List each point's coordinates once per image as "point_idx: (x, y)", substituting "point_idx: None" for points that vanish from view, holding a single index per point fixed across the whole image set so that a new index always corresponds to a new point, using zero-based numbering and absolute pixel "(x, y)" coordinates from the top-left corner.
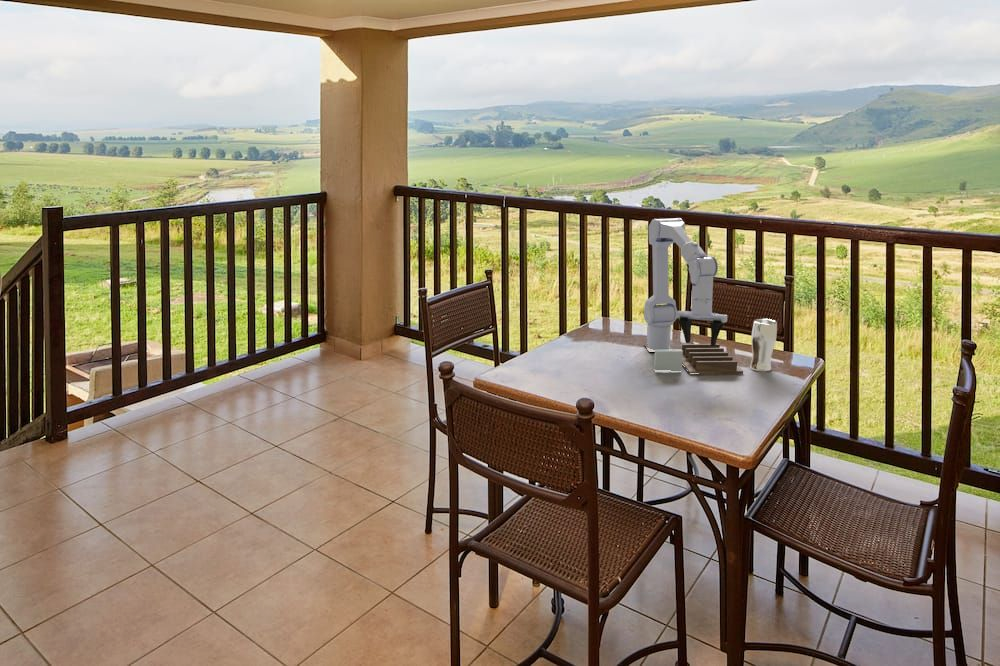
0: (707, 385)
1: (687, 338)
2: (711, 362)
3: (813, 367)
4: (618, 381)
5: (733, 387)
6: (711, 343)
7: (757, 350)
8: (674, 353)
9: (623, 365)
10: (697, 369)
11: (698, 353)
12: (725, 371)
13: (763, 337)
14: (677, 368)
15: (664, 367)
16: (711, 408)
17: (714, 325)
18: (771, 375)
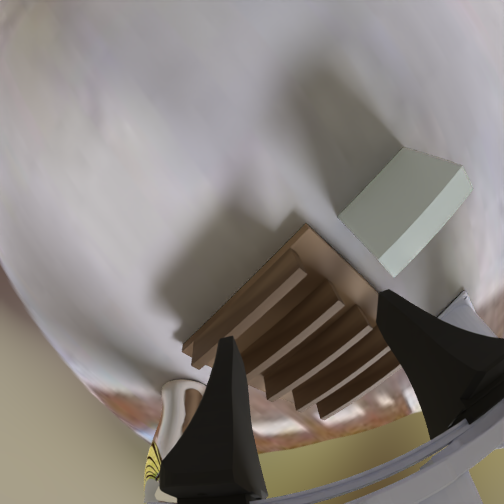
0: (185, 173)
1: (394, 309)
2: (253, 308)
3: (136, 433)
4: (427, 9)
5: (116, 230)
6: (228, 346)
7: (177, 428)
8: (401, 224)
9: (486, 152)
10: (288, 253)
11: (342, 344)
12: (215, 319)
13: (157, 466)
14: (356, 211)
15: (393, 175)
16: (60, 23)
17: (190, 469)
18: (137, 375)
